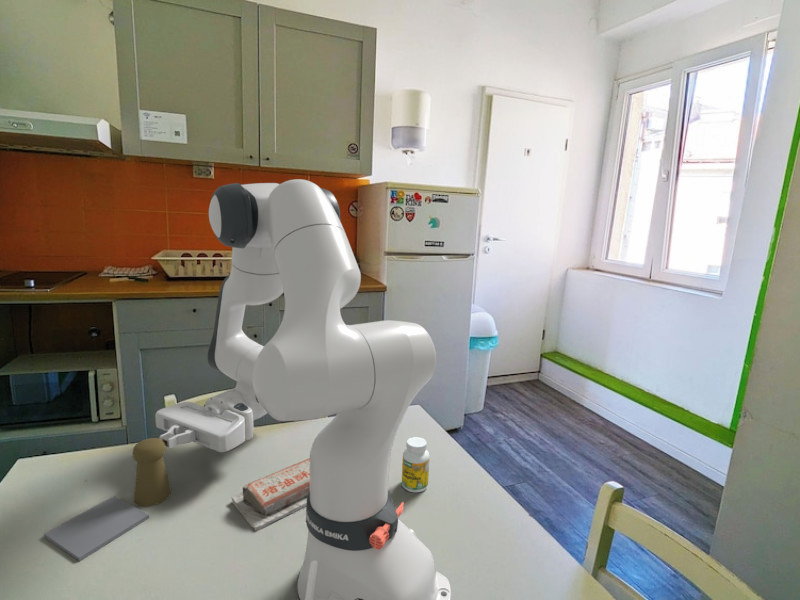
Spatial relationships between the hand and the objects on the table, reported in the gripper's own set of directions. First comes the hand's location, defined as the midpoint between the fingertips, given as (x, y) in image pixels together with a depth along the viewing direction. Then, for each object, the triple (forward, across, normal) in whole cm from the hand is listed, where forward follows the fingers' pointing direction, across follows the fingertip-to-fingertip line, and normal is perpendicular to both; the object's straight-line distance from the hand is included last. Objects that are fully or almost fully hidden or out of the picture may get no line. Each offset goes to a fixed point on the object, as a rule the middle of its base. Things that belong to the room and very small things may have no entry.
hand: (164, 442), depth 81 cm
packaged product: (-10, +21, +10) cm, 26 cm away
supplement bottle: (-25, +41, +10) cm, 49 cm away
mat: (+12, 0, +10) cm, 16 cm away
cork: (+3, 0, +10) cm, 10 cm away
